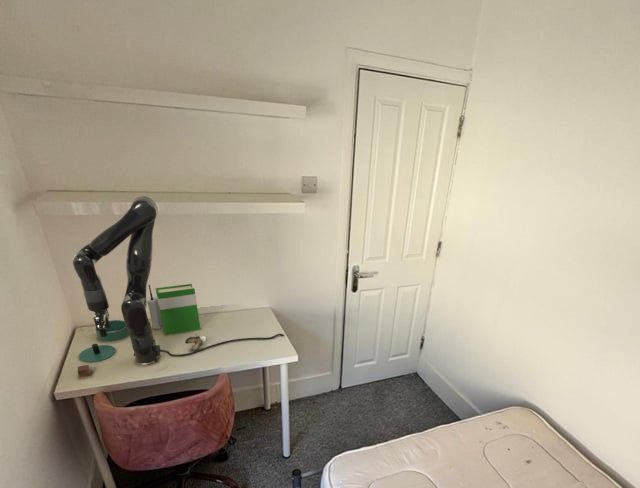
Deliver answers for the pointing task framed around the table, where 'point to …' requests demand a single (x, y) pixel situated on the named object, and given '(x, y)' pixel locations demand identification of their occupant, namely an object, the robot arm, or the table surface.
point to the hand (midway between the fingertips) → (105, 331)
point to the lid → (97, 353)
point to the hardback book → (178, 308)
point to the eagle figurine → (197, 341)
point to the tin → (114, 336)
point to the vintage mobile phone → (154, 312)
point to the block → (84, 371)
